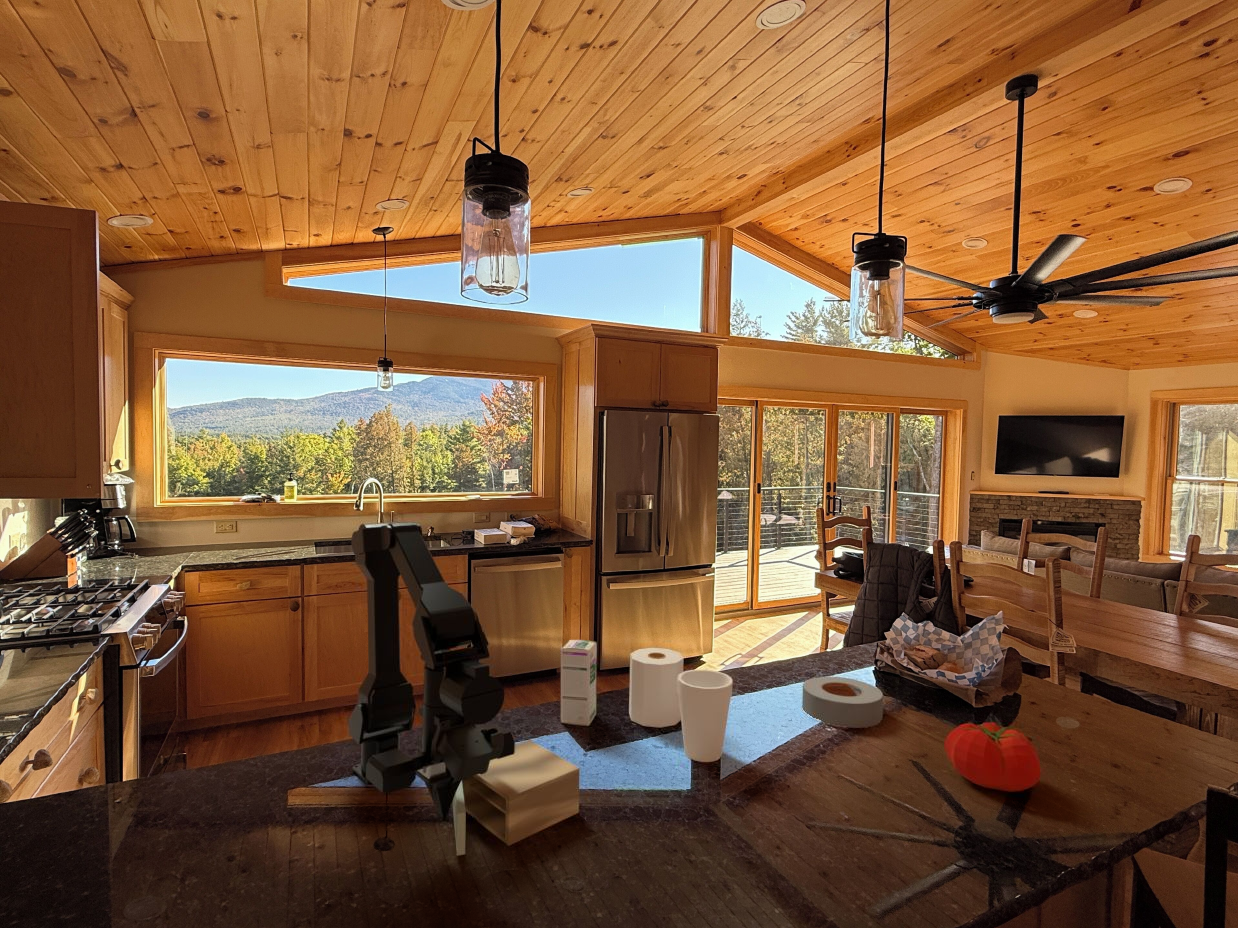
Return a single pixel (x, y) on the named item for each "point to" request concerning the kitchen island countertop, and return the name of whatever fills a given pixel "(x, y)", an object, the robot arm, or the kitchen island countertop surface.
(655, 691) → the toilet paper
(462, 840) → the door
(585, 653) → the syrup box
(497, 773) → the cabinet
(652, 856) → the kitchen island countertop surface
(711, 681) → the foam cup
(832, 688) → the tape roll
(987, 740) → the tomato
